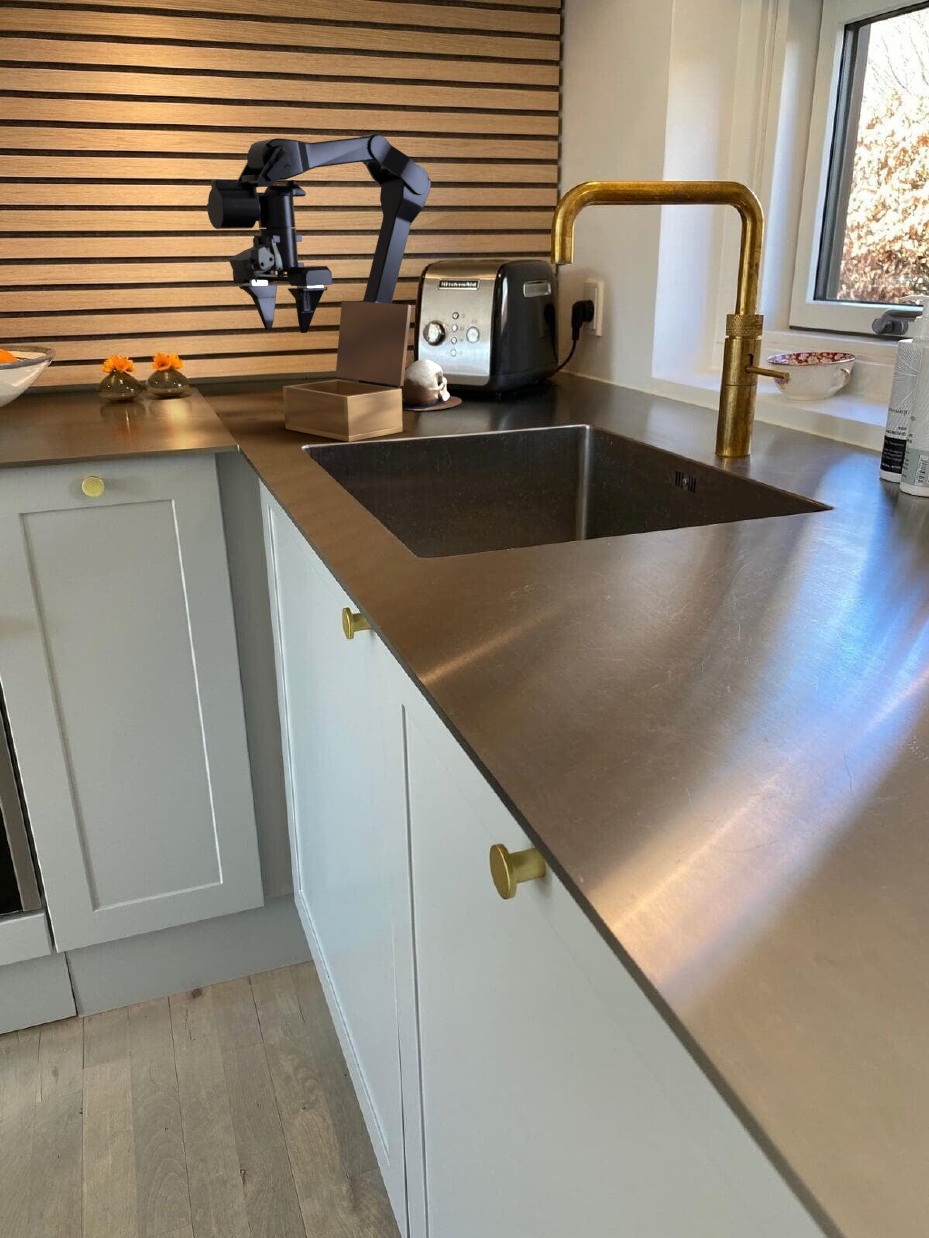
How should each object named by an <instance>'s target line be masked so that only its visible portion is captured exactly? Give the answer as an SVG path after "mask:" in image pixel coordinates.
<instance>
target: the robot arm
mask: <svg viewBox="0 0 929 1238" xmlns="http://www.w3.org/2000/svg"><path fill="white" fill-rule="evenodd" d="M246 160H247V161H246V163H245V165H244V167H243V169H242V171H241V173H240V175H239V176H238V179H237V180H236V181H233V180H232V181H231V180H230V181H229V180H225V179H212V180H211V181H210V186H211V187H210V188H211V189H210V191H209V193H208V198H207V204H206V211H207V216H208V219H209V221H210V225H211V226H212V227H213V228H214V229H216V230H244V229H246V230H247V229H250V230H251V229H253V228H254V227H255V225H256V224H257V222H258V231H259V232H258V235H253V237H252V246H251V247H250V248H247V249H244V250H242V251H241V252H239V253H236V254H235V255H233V256H232V257H230V258H228V261H229V264H230V267H231V269H232V280H233V284H236V285H237V284H238V288H239V289H240V290H242V291H244V292H245V293H246V294H248V295H249V297H251V300H252V302H253V303H254V305H255V307H256V310H257V313H258V315H259V316H260V320H261V322H262V325H263V327H264V329H265V330H266V331H271V330H272V329H273V325H274V318H275V310H276V309H275V308H276V301H277V291H278V284H270V283H274V282H288V283H289V285H290V286H291V287H290V288H289V287H288V288H287V290H288V292H289V293H290V294H291V295H292V297H293V299H294V301H295V309H296V315H297V322H298V327H299V331H300V333H301V334H307V333H308V331H309V329H310V325H311V323H312V321H313V318H314V315H315V312H316V310H317V307H318V306H319V303H320V301H321V298H322V297H323V294H324V292H325V291H328V286H332V285H333V273H332V270H331V269H330V268H329V267H328V266H327V265H305V262H303V261H302V262H299V255H298V254H299V253H298V243H301V242H303V234H297V228H296V215H295V202H294V201H295V200H294V198H300V197H306V195H307V192H306V191H305V190H304V189H303V188H302V187H301V186H299V185H298V183H297V182H296V180H295V179H291V178H294V177H296V176H297V177H298V176H300V175H302V174H304V173H306V172H308V171H311V170H313V169H316V168H323V167H324V168H325V167H330V166H339V165H346V164H354V163H362V164H363V165H364V166H365V167H366V169H367V171H368V173H369V175H370V177H371V179H372V180H373V181H374V182H375V183H376V184H377V185H378V186H379V187H380V195H379V201H380V205H381V211H382V221H381V224H380V229H379V234H378V238H377V242H376V246H375V250H374V254H373V259H372V262H371V266H370V270H369V274H368V279H367V283H366V287H365V292H364V296H363V299H362V301H361V302H371V303H386V304H393V298H394V294H395V291H396V287H397V284H398V283H397V282H398V279H399V274H400V270H401V267H402V264H403V258H404V255H405V250H406V246H407V242H408V238H409V234H410V230H411V226H412V224H413V223H414V221H415V220H416V218H417V217H418V215H419V214H420V213H421V212H422V210H423V209H424V206H425V204H426V201H427V199H428V196H429V195H430V192H431V188H432V187H431V186H432V180H431V179H430V177H429V174H428V172H427V171H426V169H425V168H424V167H423V166H421V165H419V164H417V163H415V161H414V160H413V159H412V158H411V157H410V156H408V155H406V154H405V153H403V151H401V150H399V149H398V148H396V147H395V146H393V145H392V144H391V143H390V142H389V141H388V140H387V139H386V138H385V137H384V136H383V135H381V134H379V133H372V134H364V135H361V136H359V137H350V138H349V137H348V138H342V139H341V138H340V139H334V140H333V139H332V140H324V141H314V142H308V141H302V140H297V139H289V138H281V137H278V138H277V137H276V138H270V139H264V140H259V141H255V142H253V143H252V144H251V145H250V147H249V149H248V150H247V155H246ZM289 179H291V180H289ZM286 180H287V181H286ZM278 181H286V182H285V183H284V185H283V184H282V185H281V184H279V185H278V184H275V183H276V182H278ZM258 188H265V190H264V191H263V192H260V191H259V192H258V191H257V189H258ZM239 284H240V285H239ZM358 383H364V384H371V385H378V386H385V387H392V388H398V389H399V386H397V385H390V384H383V383H376V382H369V381H362V380H358ZM402 398H404V397H403V395H402Z"/></svg>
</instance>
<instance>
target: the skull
mask: <svg viewBox="0 0 929 1238" xmlns="http://www.w3.org/2000/svg"><path fill="white" fill-rule="evenodd" d="M447 384H448V381H447V379H446V377H444V372H443V369H442V367H441V366H440V365H439V364H437V363H436V362H434V361H432V360H429V359H418V360H416V361H413V362H412V364H410V365H409V366H408V367H407V368H405V374H404V384H403V386H400V389H402V395H403V397H404V398H402V410H405V411H433V410H434V411H435V410H443V409H447V408H453V407H455V406H458V405H460V404H462V402H463V400H462V399H461V398H459V397H458V396H453V395H450V393H449V391H448V390H447Z"/></svg>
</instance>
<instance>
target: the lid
mask: <svg viewBox="0 0 929 1238" xmlns="http://www.w3.org/2000/svg"><path fill="white" fill-rule="evenodd" d="M340 308H341V309H340V317H339V318H340V319H339V330H338V341H337V352H336V353H337V355H336V365H335V366H336V367H335V377H336V378H342V379H347V380H348V379H349V380H356V381H359V380H362V381H369V382H376V383H383V384H390V385H397V386H398V387H401V386H403V384H404V374H405V370H406V364H407V355H408V354H407V353H408V352H407V351H408V343H409V333H410V325H411V314H412V305H410V304H398V303H391V304H386V303H371V302H362V301H355V300H353V301H351V300H341V306H340Z"/></svg>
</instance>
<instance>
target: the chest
mask: <svg viewBox="0 0 929 1238" xmlns="http://www.w3.org/2000/svg"><path fill="white" fill-rule="evenodd" d="M282 394H283V395H282V396H283V410H284V424H285V429H286V430H289V431H295V432H299V433H303V434H309V435H314V436H319V437H323V438H329V439H334V440H338V441H342V442H347V443H351V442H355V441H361V440H365V439H371V438H377V437H381V436H382V437H383V436H388V435H391V434H392V435H393V434H397V433H403V432H404V431H403V409H402V389H401V388H399V387H398V388H392V387H385V386H378V385H371V384H364V383H359V382H357V381H351V380H344V379H343V380H342V379H330V380H323V381H315V382H307V383H301V384H300V383H299V384H293V385H285V386H284V385H283V386H282Z"/></svg>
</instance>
